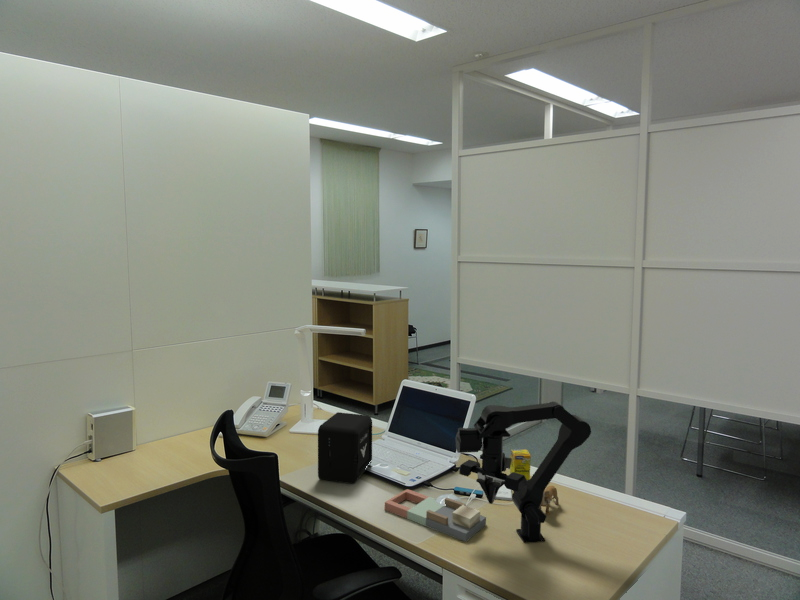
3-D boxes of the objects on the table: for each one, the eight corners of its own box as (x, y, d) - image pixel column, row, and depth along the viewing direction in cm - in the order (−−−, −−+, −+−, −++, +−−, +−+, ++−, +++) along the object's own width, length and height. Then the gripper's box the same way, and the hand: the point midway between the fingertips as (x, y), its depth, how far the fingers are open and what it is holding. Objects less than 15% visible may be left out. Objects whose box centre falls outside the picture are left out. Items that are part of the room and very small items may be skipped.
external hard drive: (510, 486, 189) (511, 502, 177) (487, 484, 190) (486, 500, 178) (511, 481, 189) (511, 497, 177) (487, 479, 190) (487, 495, 178)
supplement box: (513, 484, 189) (514, 455, 188) (509, 477, 195) (510, 448, 194) (530, 484, 189) (531, 455, 188) (525, 477, 195) (526, 449, 194)
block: (479, 520, 159) (480, 510, 158) (469, 528, 154) (470, 518, 154) (462, 514, 162) (462, 504, 162) (452, 522, 157) (452, 512, 157)
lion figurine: (550, 521, 164) (551, 493, 163) (533, 517, 166) (534, 489, 165) (560, 501, 176) (561, 475, 176) (544, 498, 179) (545, 472, 178)
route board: (485, 524, 161) (486, 510, 160) (465, 541, 151) (466, 526, 151) (407, 496, 179) (407, 483, 179) (384, 509, 170) (384, 496, 169)
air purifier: (355, 486, 186) (355, 431, 184) (317, 481, 190) (317, 427, 188) (374, 464, 205) (374, 414, 203) (339, 459, 209) (339, 410, 207)
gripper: (534, 450, 152) (533, 502, 153) (477, 435, 163) (476, 484, 164) (518, 462, 143) (516, 517, 144) (458, 446, 154) (457, 497, 156)
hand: (491, 503), depth 152 cm, fingers closed
